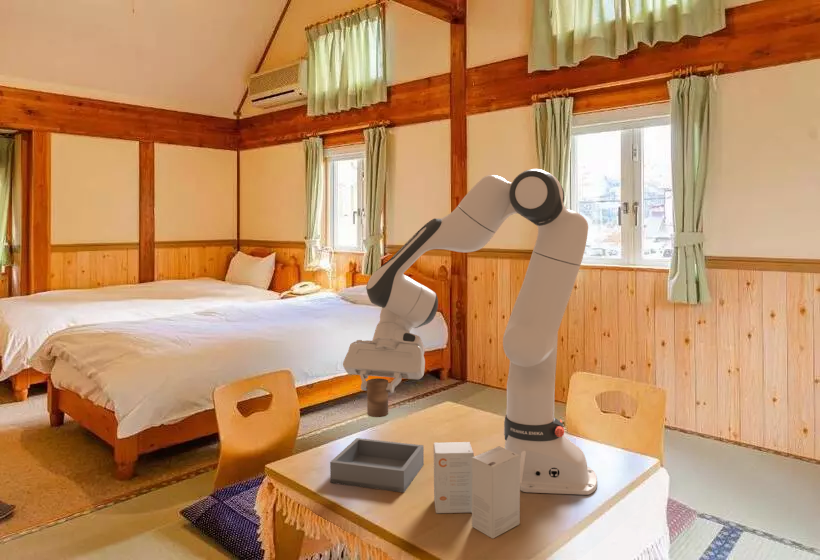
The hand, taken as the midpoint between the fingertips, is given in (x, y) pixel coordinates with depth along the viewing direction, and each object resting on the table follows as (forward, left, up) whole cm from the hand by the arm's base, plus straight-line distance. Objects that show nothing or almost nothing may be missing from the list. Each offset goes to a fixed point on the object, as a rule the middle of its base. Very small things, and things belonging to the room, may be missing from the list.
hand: (376, 390), depth 137 cm
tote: (0, -1, -21) cm, 21 cm away
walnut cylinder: (0, -1, -6) cm, 6 cm away
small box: (-21, +10, -21) cm, 31 cm away
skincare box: (-31, +16, -21) cm, 41 cm away
